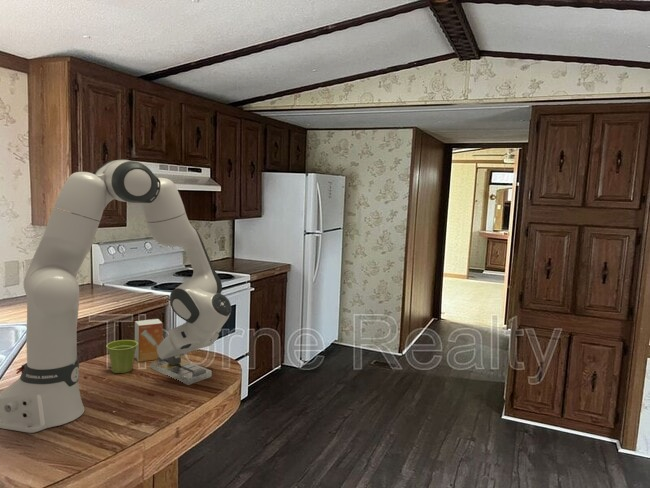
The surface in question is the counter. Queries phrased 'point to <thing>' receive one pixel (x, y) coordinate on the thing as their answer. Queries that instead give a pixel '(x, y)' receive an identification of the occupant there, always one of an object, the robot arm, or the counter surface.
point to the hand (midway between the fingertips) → (178, 355)
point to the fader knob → (174, 360)
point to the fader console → (181, 370)
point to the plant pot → (122, 355)
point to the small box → (148, 339)
